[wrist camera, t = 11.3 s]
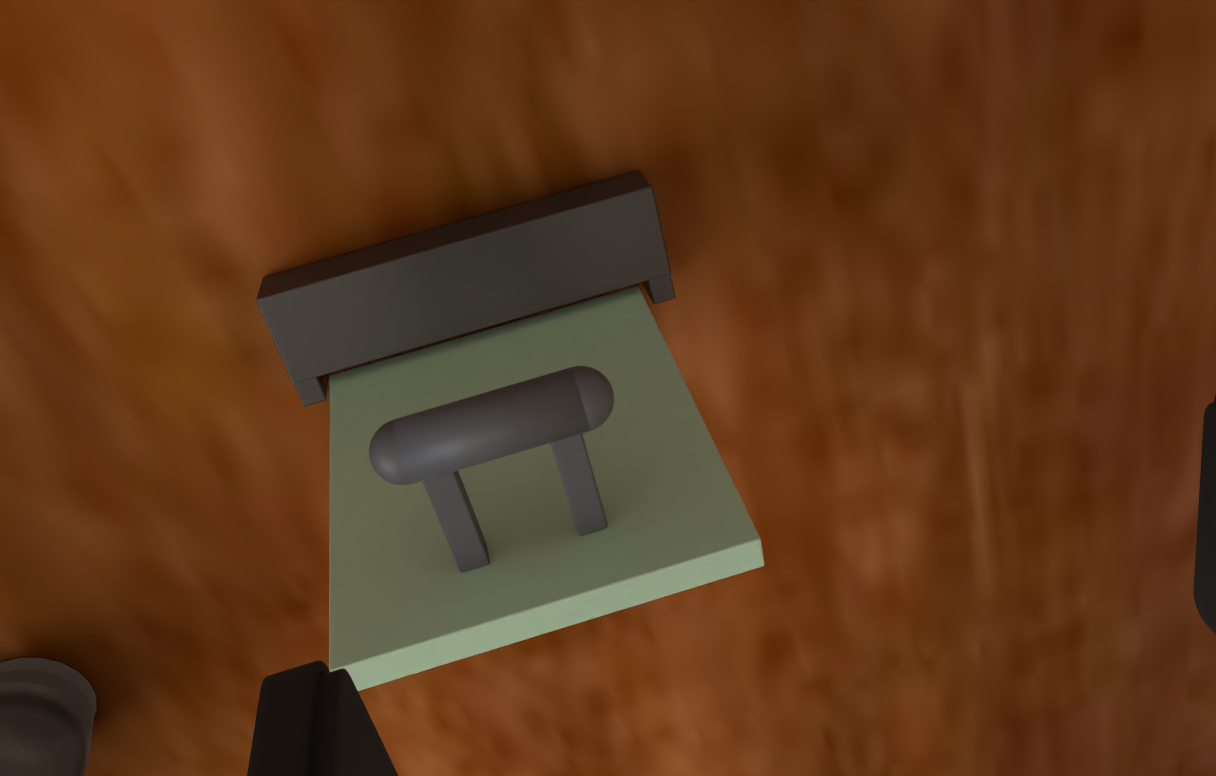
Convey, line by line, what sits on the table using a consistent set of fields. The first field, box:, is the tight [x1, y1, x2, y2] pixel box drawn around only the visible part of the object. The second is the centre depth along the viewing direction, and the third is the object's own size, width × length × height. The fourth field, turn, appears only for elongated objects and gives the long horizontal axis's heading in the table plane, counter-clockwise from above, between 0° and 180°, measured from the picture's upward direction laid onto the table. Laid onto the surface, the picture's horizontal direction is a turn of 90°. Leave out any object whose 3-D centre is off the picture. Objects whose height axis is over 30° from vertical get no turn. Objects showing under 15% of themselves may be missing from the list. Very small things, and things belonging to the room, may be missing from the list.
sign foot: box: [257, 171, 675, 406], centre depth 36 cm, size 4×13×2 cm, turn 103°
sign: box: [329, 286, 764, 691], centre depth 30 cm, size 13×11×6 cm
